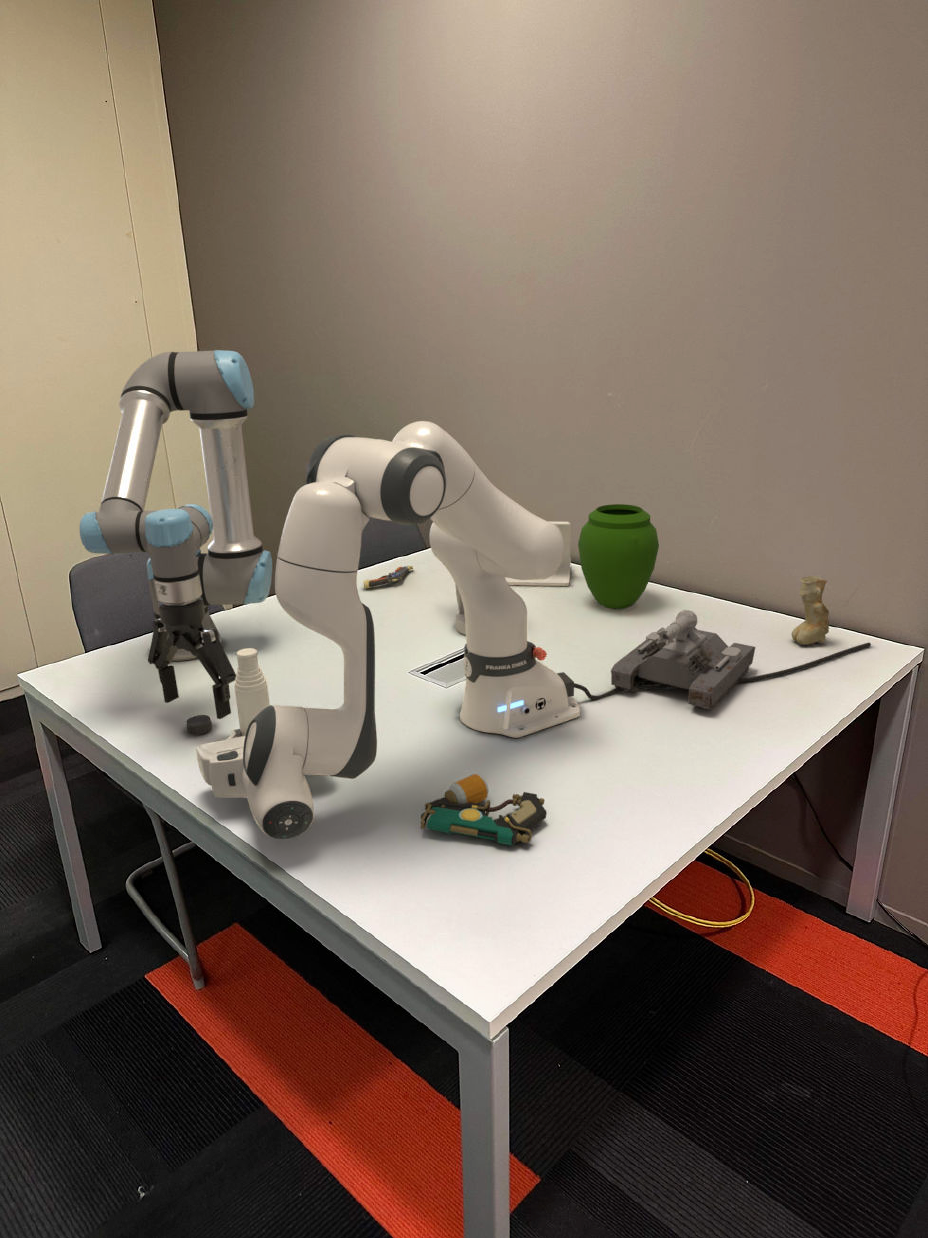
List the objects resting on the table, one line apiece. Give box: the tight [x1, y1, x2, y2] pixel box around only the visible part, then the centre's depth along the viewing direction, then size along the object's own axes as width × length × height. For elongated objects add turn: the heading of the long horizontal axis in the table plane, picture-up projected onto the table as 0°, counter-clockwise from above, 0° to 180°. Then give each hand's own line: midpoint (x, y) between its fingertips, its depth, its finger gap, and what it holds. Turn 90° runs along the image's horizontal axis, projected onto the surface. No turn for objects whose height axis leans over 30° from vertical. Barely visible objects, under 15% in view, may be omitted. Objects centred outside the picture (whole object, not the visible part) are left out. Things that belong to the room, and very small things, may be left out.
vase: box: [577, 503, 660, 610], centre depth 210 cm, size 20×20×24 cm
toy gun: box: [362, 565, 414, 589], centre depth 238 cm, size 3×19×10 cm
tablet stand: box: [505, 521, 572, 587], centre depth 236 cm, size 18×25×17 cm
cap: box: [185, 714, 213, 736], centre depth 157 cm, size 4×4×2 cm
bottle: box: [234, 647, 271, 736], centre depth 141 cm, size 5×5×21 cm
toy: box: [610, 609, 756, 711], centre depth 169 cm, size 25×20×15 cm
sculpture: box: [791, 575, 830, 646], centre depth 185 cm, size 6×7×15 cm
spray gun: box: [420, 773, 547, 846], centre depth 126 cm, size 4×17×15 cm
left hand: (197, 707), depth 157 cm, fingers open, 13 cm apart
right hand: (255, 729), depth 144 cm, fingers closed on bottle, 5 cm apart
